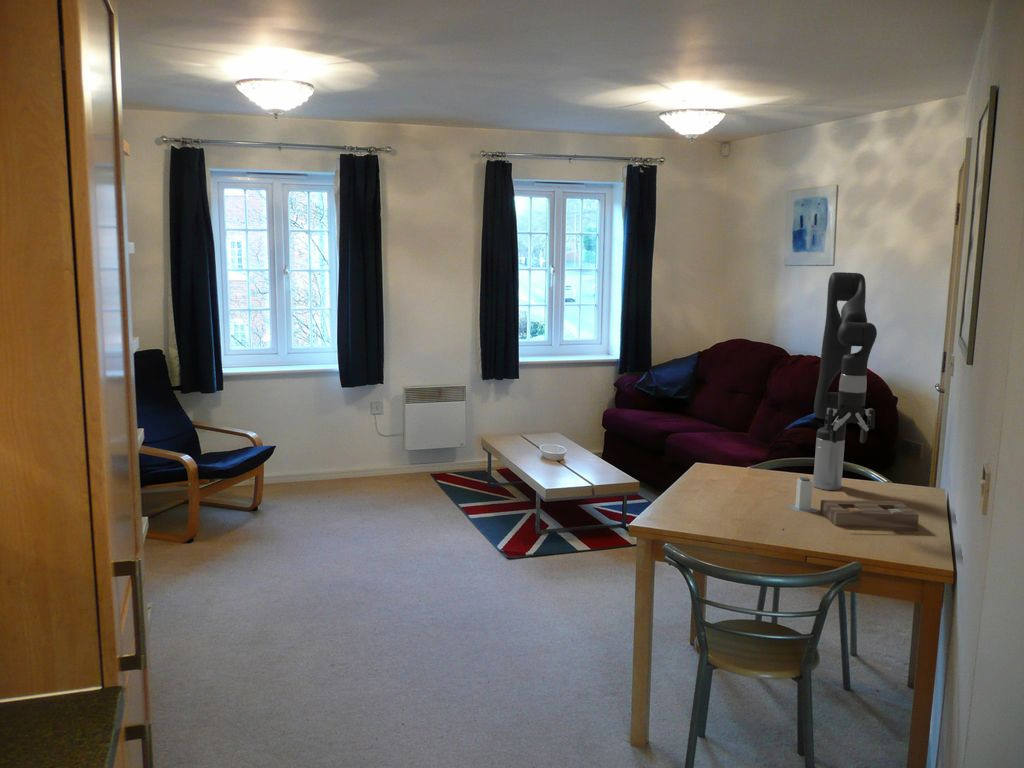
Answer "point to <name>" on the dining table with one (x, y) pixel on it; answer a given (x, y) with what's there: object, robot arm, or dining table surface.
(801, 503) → the plug
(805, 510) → the thin square blue plate
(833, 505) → the socket block
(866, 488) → the dining table surface
